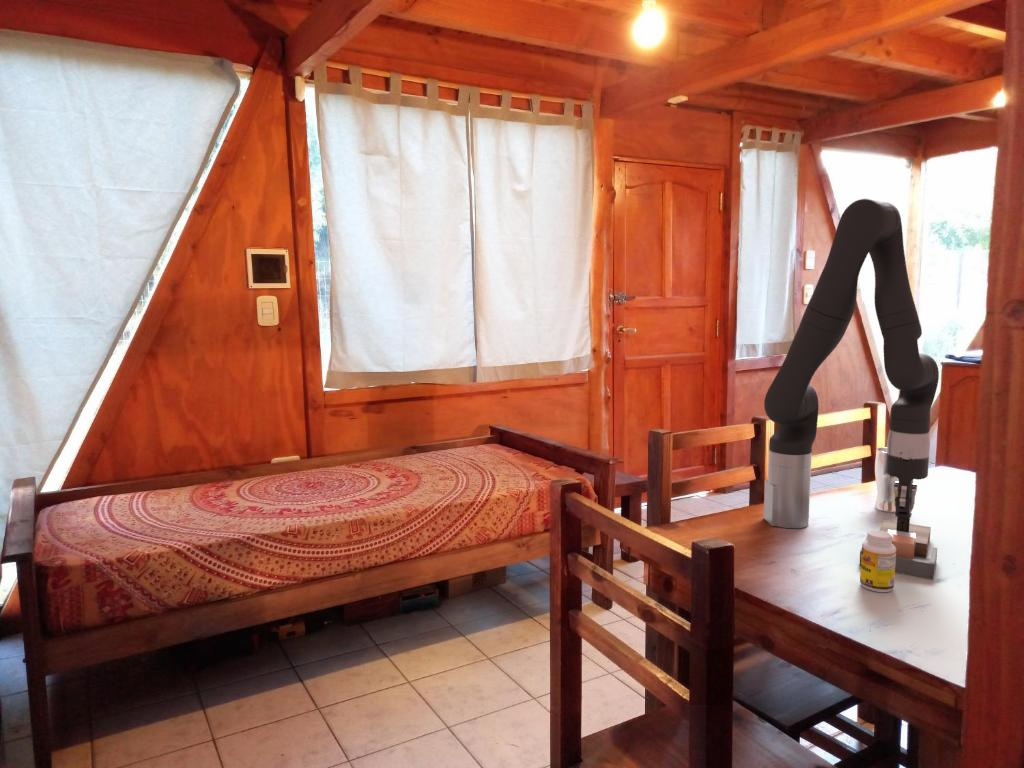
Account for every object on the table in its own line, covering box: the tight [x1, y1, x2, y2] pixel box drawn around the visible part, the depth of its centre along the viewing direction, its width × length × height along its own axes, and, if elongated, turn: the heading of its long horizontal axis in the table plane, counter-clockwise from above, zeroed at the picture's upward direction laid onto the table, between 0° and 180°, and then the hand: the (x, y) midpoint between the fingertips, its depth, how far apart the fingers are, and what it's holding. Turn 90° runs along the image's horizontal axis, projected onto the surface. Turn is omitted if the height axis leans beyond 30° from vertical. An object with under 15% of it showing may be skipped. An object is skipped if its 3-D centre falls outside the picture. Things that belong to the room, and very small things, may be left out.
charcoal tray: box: [859, 536, 938, 580], centre depth 139 cm, size 10×13×3 cm
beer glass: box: [874, 446, 899, 514], centre depth 172 cm, size 7×7×15 cm
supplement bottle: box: [859, 529, 896, 593], centre depth 128 cm, size 6×6×10 cm
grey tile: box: [887, 529, 916, 551], centre depth 141 cm, size 5×5×2 cm
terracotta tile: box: [891, 534, 915, 559], centre depth 138 cm, size 5×5×2 cm
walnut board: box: [879, 519, 931, 558], centre depth 149 cm, size 12×9×3 cm
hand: (902, 534), depth 144 cm, fingers closed
